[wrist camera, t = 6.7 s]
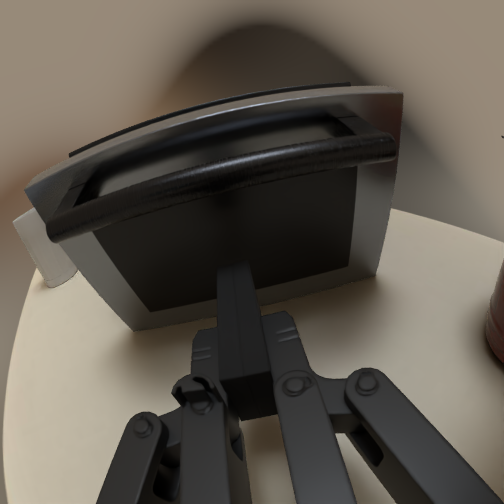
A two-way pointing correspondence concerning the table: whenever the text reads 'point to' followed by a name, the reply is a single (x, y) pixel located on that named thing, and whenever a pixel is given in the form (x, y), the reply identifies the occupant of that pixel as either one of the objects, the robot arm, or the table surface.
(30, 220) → the cup
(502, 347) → the mug
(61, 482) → the table surface
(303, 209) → the door
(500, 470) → the table surface
